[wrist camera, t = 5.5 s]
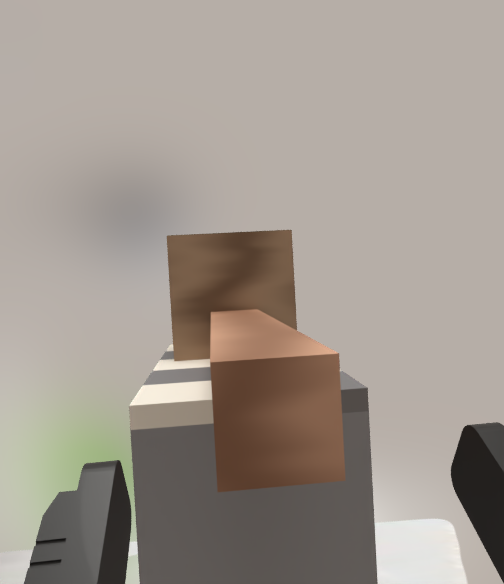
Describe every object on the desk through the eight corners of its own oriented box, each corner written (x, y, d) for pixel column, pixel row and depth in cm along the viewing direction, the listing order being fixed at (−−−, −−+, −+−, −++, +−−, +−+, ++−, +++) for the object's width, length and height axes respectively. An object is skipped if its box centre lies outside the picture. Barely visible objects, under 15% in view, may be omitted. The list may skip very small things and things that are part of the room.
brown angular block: (106, 502, 11) (84, 145, 11) (181, 345, 39) (175, 245, 39) (447, 471, 12) (431, 134, 11) (280, 338, 39) (275, 240, 39)
